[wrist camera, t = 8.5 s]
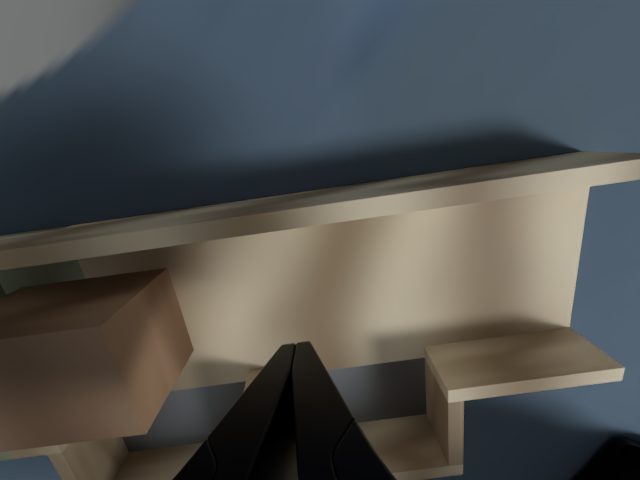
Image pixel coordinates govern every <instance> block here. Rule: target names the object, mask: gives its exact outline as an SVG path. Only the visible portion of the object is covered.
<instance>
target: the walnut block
mask: <svg viewBox="0 0 640 480" xmlns="http://www.w3.org/2000/svg"><path fill="white" fill-rule="evenodd" d="M193 351H194V349H193V346H192V343H191V340H190V336H189V333H188V330H187V327H186V324H185V321H184V318H183V315H182V312H181V308H180V305H179V302H178V299H177V296H176V293H175V290H174V287H173V284H172V280H171V277H170V274H169V271H168V268H161V269H154V270H147V271H139V272H132V273H124V274H117V275H109V276H102V277H95V278H87V279H80V280H72V281H65V282H57V283H50V284H43V285H35V286H28V287H21V288H19V289H17V290H15V291H13V292H11V293H9V294H7V295H5V296H3V297H1V298H0V452H6V451H14V450H22V449H30V448H38V447H46V446H54V445H62V444H70V443H79V442H87V441H95V440H103V439H111V438H119V437H127V436H135V435H143V434H147V432H148V430H149V428H150V427H151V425H152V423H153V421H154V420H155V418H156V416H157V414H158V413H159V411H160V409H161V407H162V405H163V404H164V402H165V400H166V398H167V397H168V395H169V393H170V391H171V390H172V388H173V386H174V384H175V383H176V381H177V379H178V377H179V375H180V374H181V372H182V370H183V368H184V367H185V365H186V363H187V361H188V360H189V358H190V356H191V354H192V353H193Z"/></svg>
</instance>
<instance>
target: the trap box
mask: <svg viewBox="0 0 640 480" xmlns="http://www.w3.org/2000/svg"><path fill="white" fill-rule="evenodd" d="M639 179H640V153H619V152H592V151H581V152H574V153H567V154H560V155H553V156H546V157H539V158H532V159H526V160H519V161H512V162H505V163H498V164H491V165H484V166H477V167H470V168H463V169H457V170H450V171H443V172H436V173H429V174H422V175H415V176H408V177H401V178H394V179H388V180H381V181H374V182H367V183H360V184H353V185H346V186H339V187H332V188H325V189H318V190H312V191H305V192H298V193H291V194H284V195H277V196H270V197H263V198H256V199H249V200H243V201H236V202H229V203H222V204H215V205H208V206H201V207H194V208H187V209H180V210H174V211H167V212H160V213H153V214H146V215H139V216H132V217H125V218H118V219H111V220H105V221H98V222H91V223H84V224H77V225H70V226H63V227H56V228H49V229H42V230H35V231H29V232H22V233H15V234H8V235H1V236H0V298H1V297H3V296H5V295H7V294H9V293H11V292H13V291H15V290H17V289H19V288H21V287H28V286H35V285H43V284H50V283H57V282H65V281H72V280H80V279H87V278H95V277H102V276H109V275H117V274H124V273H132V272H139V271H147V270H154V269H161V268H168V271H169V274H170V277H171V280H172V284H173V287H174V290H175V293H176V296H177V299H178V302H179V305H180V308H181V312H182V315H183V318H184V321H185V324H186V327H187V330H188V333H189V336H190V340H191V343H192V346H193V349H194V351H193V353H192V354H191V356H190V358H189V360H188V361H187V363H186V365H185V367H184V368H183V370H182V372H181V374H180V375H179V377H178V379H177V381H176V383H175V384H174V386H173V388H172V390H171V391H170V393H169V395H168V397H167V398H166V400H165V402H164V404H163V405H162V407H161V409H160V411H159V413H158V414H157V416H156V418H155V420H154V421H153V423H152V425H151V427H150V428H149V430H148V432H147V434H143V435H135V436H127V437H119V438H111V439H103V440H95V441H87V442H79V443H70V444H62V445H54V446H46V447H38V448H30V449H22V450H14V451H6V452H0V461H3V460H11V459H18V458H26V457H34V456H42V455H47V456H48V458H49V459H50V461H51V463H52V464H53V466H54V468H55V469H56V471H57V473H58V474H59V476H60V478H61V479H62V480H172V479H173V478H174V477H175V476H176V475H177V473H178V472H179V471H180V470H181V469H182V467H183V466H184V465H185V464H186V463H187V462H188V460H189V459H190V458H191V457H192V456H193V454H194V453H195V452H196V451H197V449H198V448H199V447H200V446H201V444H202V443H203V442H204V441H205V440H206V439H207V440H208V436H209V435H210V433H211V432H212V431H213V430H214V428H215V427H216V426H217V425H218V423H219V422H220V421H221V420H222V418H223V417H224V416H225V415H226V413H227V412H228V411H229V410H230V408H231V407H232V406H233V405H234V403H235V402H236V401H237V400H238V398H239V397H240V396H241V395H242V393H243V392H244V391H245V390H246V388H247V387H248V386H249V385H250V383H251V382H252V381H253V380H254V378H255V377H256V376H257V375H258V373H259V372H260V371H261V370H262V369H263V367H264V366H265V365H266V364H267V362H268V361H269V360H270V359H271V357H272V356H273V355H274V354H275V352H276V351H277V350H278V349H279V347H280V346H281V345H283V344H290V343H295V344H297V343H298V342H305V341H310V342H311V344H312V345H313V347H314V349H315V350H316V352H317V354H318V356H319V357H320V359H321V361H322V362H323V364H324V366H325V368H326V369H327V371H328V373H329V374H330V376H331V378H332V379H333V381H334V383H335V385H336V386H337V388H338V390H339V391H340V393H341V395H342V397H343V398H344V400H345V402H346V403H347V405H348V407H349V409H350V410H351V412H352V414H353V415H354V417H355V419H356V421H357V422H358V424H359V425H360V427H361V429H362V430H363V432H364V434H365V435H366V437H367V439H368V440H369V442H370V443H371V445H372V446H373V448H374V450H375V451H376V452H377V454H378V455H379V457H380V458H381V459H382V461H383V462H384V463H385V465H386V466H387V467H388V469H389V470H390V472H391V473H392V474H393V475H394V477H395V478H396V479H397V480H423V479H431V478H439V477H447V476H455V475H463V442H464V401H467V400H475V399H483V398H491V397H498V396H506V395H514V394H522V393H529V392H537V391H545V390H552V389H560V388H568V387H576V386H583V385H591V384H599V383H607V382H614V381H622V379H623V374H624V370H625V367H624V366H622V365H621V364H619V363H618V362H617V361H615V360H614V359H613V358H611V357H610V356H608V355H607V354H606V353H604V352H603V351H601V350H600V349H599V348H597V347H596V346H595V345H593V344H592V343H590V342H589V341H588V340H586V339H585V338H583V337H582V336H581V335H579V334H578V333H577V332H575V331H574V330H572V329H571V328H570V320H571V313H572V306H573V299H574V292H575V285H576V278H577V271H578V264H579V257H580V250H581V243H582V236H583V229H584V222H585V215H586V208H587V201H588V194H589V188H590V186H597V185H604V184H611V183H618V182H625V181H632V180H639Z"/></svg>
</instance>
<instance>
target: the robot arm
mask: <svg viewBox="0 0 640 480" xmlns="http://www.w3.org/2000/svg"><path fill="white" fill-rule="evenodd" d="M172 480H397V479H396V478H395V477H394V475H393V474H392V473H391V472H390V470H389V469H388V467H387V466H386V465H385V463H384V462H383V461H382V459H381V458H380V457H379V455H378V454H377V452H376V451H375V450H374V448H373V446H372V445H371V443H370V442H369V440H368V439H367V437H366V435H365V434H364V432H363V430H362V429H361V427H360V425H359V424H358V422H357V421H356V419H355V417H354V415H353V414H352V412H351V410H350V409H349V407H348V405H347V403H346V402H345V400H344V398H343V397H342V395H341V393H340V391H339V390H338V388H337V386H336V385H335V383H334V381H333V379H332V378H331V376H330V374H329V373H328V371H327V369H326V368H325V366H324V364H323V362H322V361H321V359H320V357H319V356H318V354H317V352H316V350H315V349H314V347H313V345H312V344H311V342H310V341H305V342H298V343H297V344H295V343H290V344H283V345H281V346H280V347H279V349H278V350H277V351H276V352H275V354H274V355H273V356H272V357H271V359H270V360H269V361H268V362H267V364H266V365H265V366H264V367H263V369H262V370H261V371H260V372H259V373H258V375H257V376H256V377H255V378H254V380H253V381H252V382H251V383H250V385H249V386H248V387H247V388H246V390H245V391H244V392H243V393H242V395H241V396H240V397H239V398H238V400H237V401H236V402H235V403H234V405H233V406H232V407H231V408H230V410H229V411H228V412H227V413H226V415H225V416H224V417H223V418H222V420H221V421H220V422H219V423H218V425H217V426H216V427H215V428H214V430H213V431H212V432H211V433H210V435H209V436H208V440H207V439H206V440H205V441H204V442H203V443H202V444H201V446H200V447H199V448H198V449H197V451H196V452H195V453H194V454H193V456H192V457H191V458H190V459H189V460H188V462H187V463H186V464H185V465H184V466H183V467H182V469H181V470H180V471H179V472H178V473H177V475H176V476H175V477H174V478H173V479H172ZM577 480H640V443H639V442H636V441H633V440H630V439H627V438H617V439H615V440H613V441H612V442H611V443H610V444H609V445H608V446H607V447H606V449H605V450H604V451H603V452H602V453H601V454H600V455H599V456H598V457H597V458H596V459H595V460H594V461H593V462H592V463H591V465H590V466H589V467H588V468H587V469H586V470H585V471H584V472H583V473H582V474H581V475H580V476H579V477H578V478H577Z"/></svg>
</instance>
